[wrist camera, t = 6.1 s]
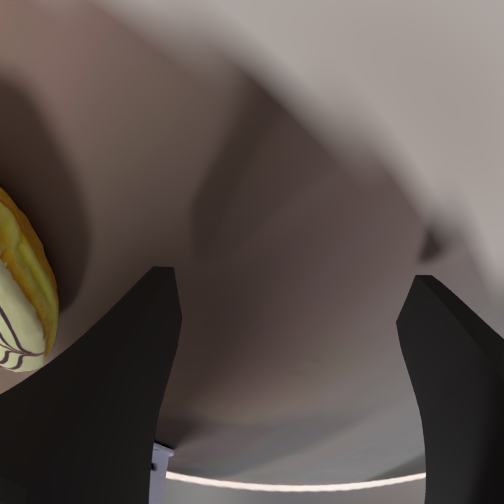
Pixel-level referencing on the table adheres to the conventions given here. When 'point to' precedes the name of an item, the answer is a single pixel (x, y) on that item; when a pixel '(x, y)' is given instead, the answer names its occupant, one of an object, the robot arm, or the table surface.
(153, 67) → the table surface
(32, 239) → the decorated donut
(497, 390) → the robot arm
